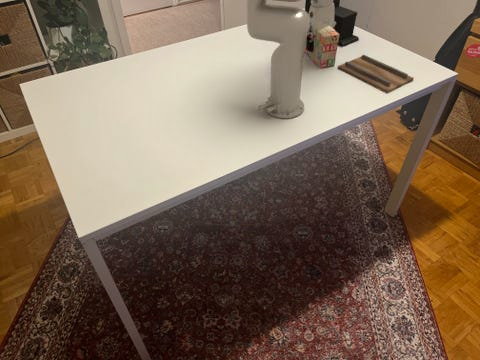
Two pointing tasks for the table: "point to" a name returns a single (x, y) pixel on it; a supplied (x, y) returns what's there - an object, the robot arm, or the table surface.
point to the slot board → (376, 73)
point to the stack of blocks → (324, 47)
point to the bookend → (341, 23)
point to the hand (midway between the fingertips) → (317, 47)
